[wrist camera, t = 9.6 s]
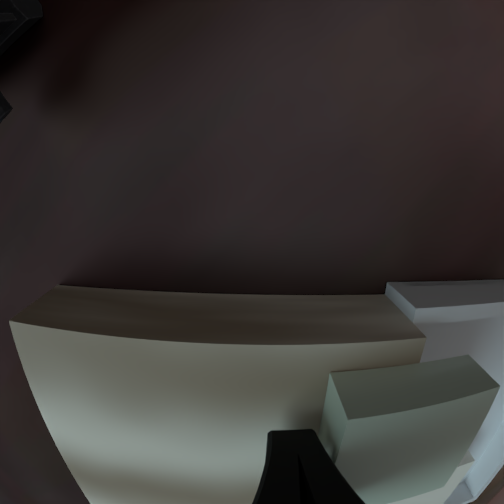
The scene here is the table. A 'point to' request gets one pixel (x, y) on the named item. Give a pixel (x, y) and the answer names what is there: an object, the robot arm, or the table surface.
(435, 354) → the box
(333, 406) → the tile sage
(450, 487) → the tile cream
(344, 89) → the table surface
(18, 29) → the tool
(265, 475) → the robot arm
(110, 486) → the bench board
